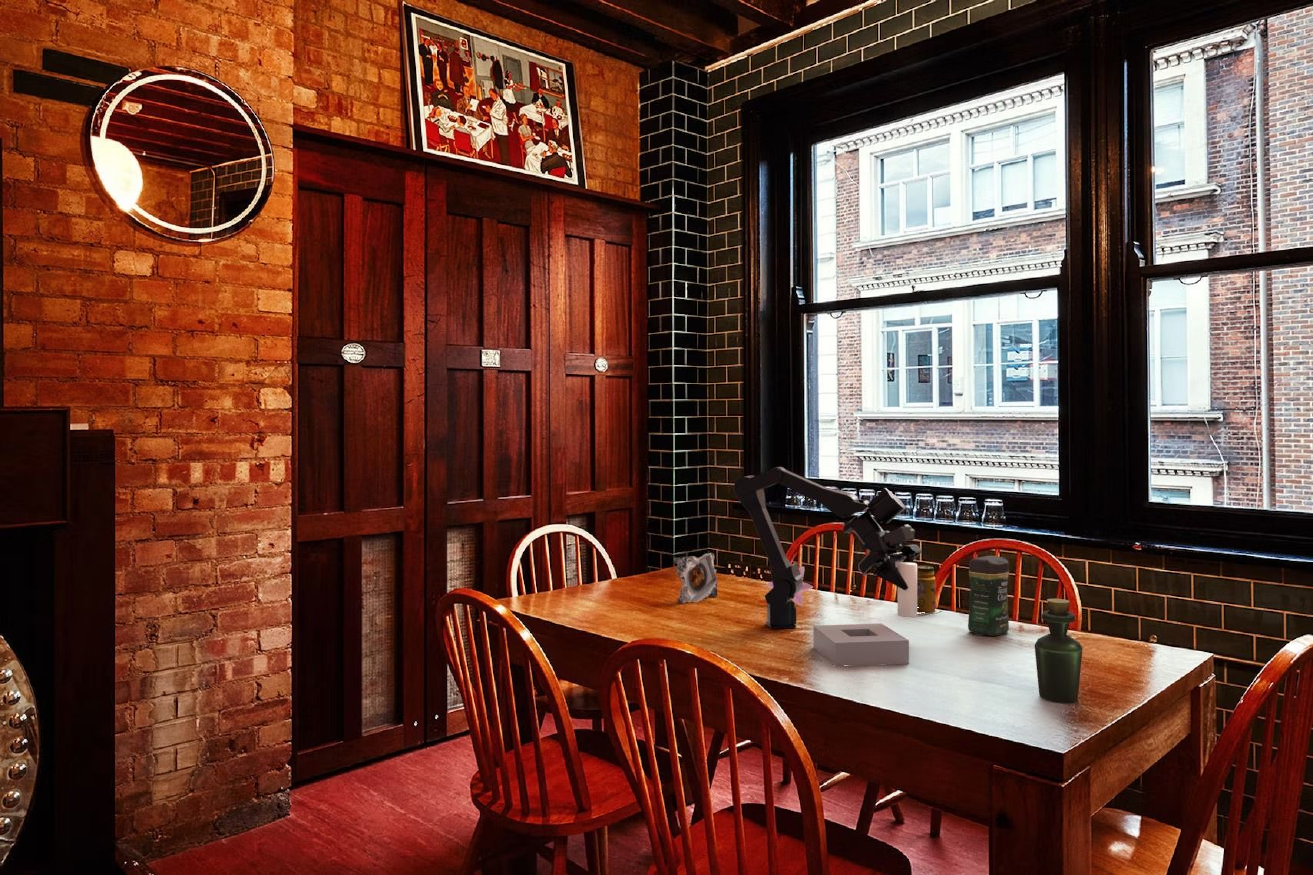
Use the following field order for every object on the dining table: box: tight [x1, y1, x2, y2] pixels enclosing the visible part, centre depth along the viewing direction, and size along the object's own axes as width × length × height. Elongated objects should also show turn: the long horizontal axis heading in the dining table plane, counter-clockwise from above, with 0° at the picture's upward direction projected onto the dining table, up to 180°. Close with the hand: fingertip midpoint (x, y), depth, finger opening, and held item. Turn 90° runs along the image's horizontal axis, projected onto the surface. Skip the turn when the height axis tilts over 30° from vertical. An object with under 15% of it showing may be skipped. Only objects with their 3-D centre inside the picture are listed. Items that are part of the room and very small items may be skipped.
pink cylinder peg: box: [897, 562, 918, 618], centre depth 205 cm, size 4×4×12 cm
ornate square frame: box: [673, 552, 718, 604], centre depth 256 cm, size 15×4×13 cm, turn 138°
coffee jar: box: [967, 555, 1010, 637], centre depth 213 cm, size 10×8×19 cm
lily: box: [765, 566, 814, 607], centre depth 252 cm, size 12×12×10 cm
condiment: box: [917, 565, 941, 616], centre depth 238 cm, size 7×8×12 cm
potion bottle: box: [1034, 598, 1084, 704], centre depth 162 cm, size 8×8×18 cm
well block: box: [812, 622, 910, 667], centre depth 193 cm, size 16×16×5 cm
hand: (912, 587), depth 204 cm, fingers closed on pink cylinder peg, 4 cm apart
